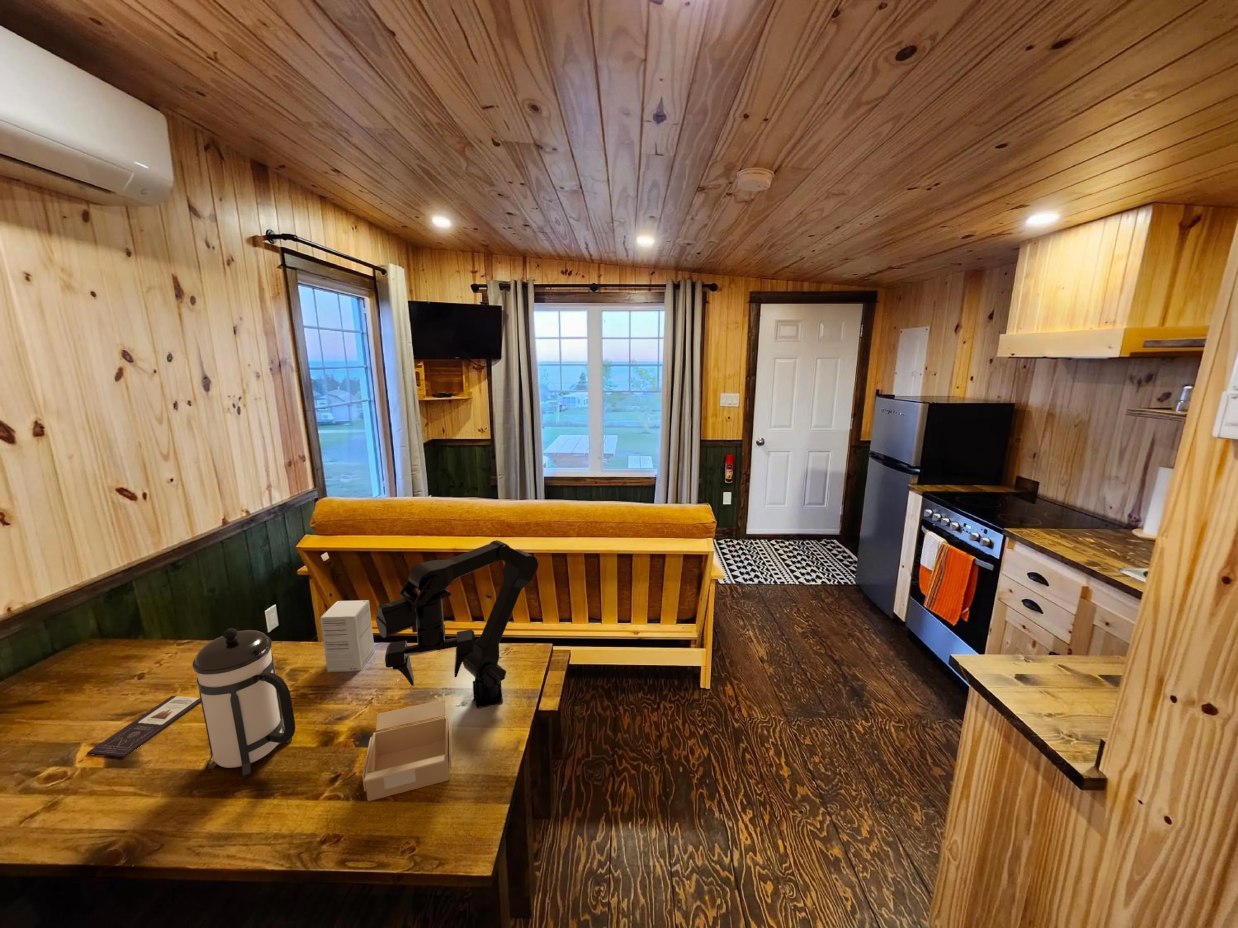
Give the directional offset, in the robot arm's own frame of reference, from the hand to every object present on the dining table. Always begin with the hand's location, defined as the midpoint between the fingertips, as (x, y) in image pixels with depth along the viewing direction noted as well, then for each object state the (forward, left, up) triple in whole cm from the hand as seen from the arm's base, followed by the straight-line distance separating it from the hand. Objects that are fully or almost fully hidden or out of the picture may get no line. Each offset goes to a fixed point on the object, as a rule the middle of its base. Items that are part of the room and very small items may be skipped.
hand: (434, 680), depth 108 cm
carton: (+5, +11, -12) cm, 17 cm away
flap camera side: (+5, +18, -5) cm, 20 cm away
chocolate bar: (+64, -22, -13) cm, 69 cm away
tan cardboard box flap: (+5, +4, -5) cm, 8 cm away
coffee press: (+37, -4, -12) cm, 39 cm away
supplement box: (+24, -34, -12) cm, 43 cm away
